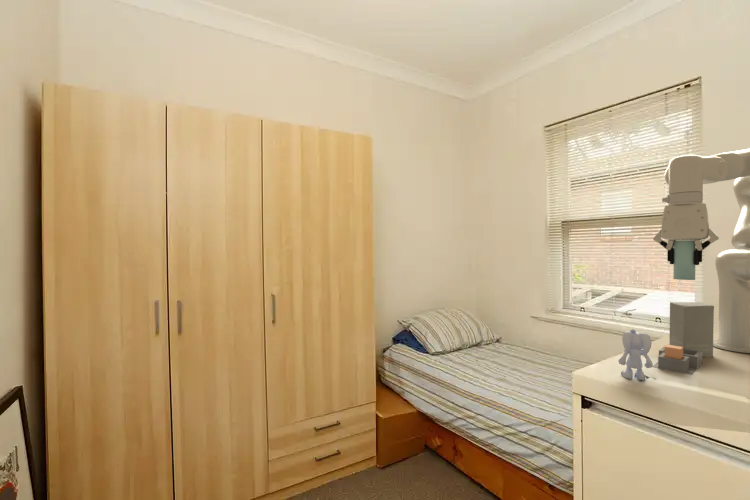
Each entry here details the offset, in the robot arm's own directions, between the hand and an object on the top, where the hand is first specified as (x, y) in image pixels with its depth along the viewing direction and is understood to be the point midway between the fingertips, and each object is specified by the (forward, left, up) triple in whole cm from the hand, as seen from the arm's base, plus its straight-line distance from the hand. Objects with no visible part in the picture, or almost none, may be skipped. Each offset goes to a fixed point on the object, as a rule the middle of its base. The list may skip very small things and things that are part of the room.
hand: (684, 263), depth 107 cm
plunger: (+8, +14, -26) cm, 30 cm away
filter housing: (+6, +10, -27) cm, 30 cm away
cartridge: (0, 0, -4) cm, 4 cm away
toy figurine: (+20, +21, -27) cm, 40 cm away
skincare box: (-4, -4, -28) cm, 28 cm away
